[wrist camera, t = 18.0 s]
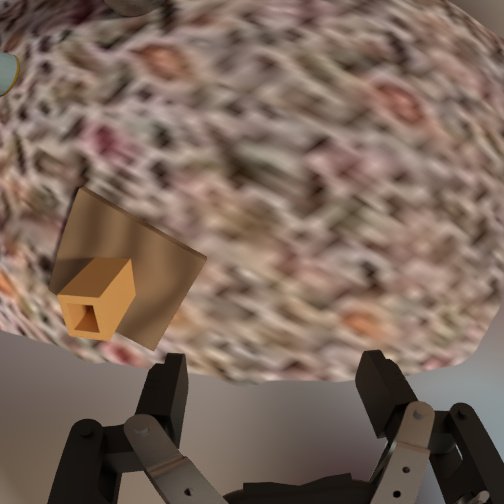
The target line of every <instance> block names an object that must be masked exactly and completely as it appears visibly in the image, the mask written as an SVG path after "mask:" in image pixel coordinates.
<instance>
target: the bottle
mask: <svg viewBox="0 0 504 504" xmlns="http://www.w3.org/2000/svg"><path fill="white" fill-rule="evenodd" d="M18 75H19V60H18V58H17V57H16V56H15V55H12V54H8V53H4V52H0V96H2V95H4V94H6V93H7V92H8V91H9V90H10V89H11V88H12V87H13V85H14V84H15V82H16V80H17V78H18Z"/></svg>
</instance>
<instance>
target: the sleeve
mask: <svg viewBox="0 0 504 504" xmlns="http://www.w3.org/2000/svg"><path fill="white" fill-rule="evenodd" d="M135 296H136V293H135V286H134V279H133V272H132V264H131V258H94V259H93V260H92V261H91V262H90V263H89V264H88V265H87V266H86V267H85V268H84V269H83V270H82V271H81V272H80V273H79V274H78V275H76V276H75V277H74V278H73V279H72V280H71V281H70V282H69V283H68V284H67V285H66V286H65V287H64V288H63V289H62V290H61V291H60V292H59V293H58V298H59V302H60V306H61V309H62V313H63V316H64V320H65V323H66V326H67V330H68V333H69V336H75V337H82V338H89V339H97V340H105V341H110V339H111V337H112V335H113V334H114V332H115V330H116V328H117V327H118V325H119V323H120V321H121V320H122V318H123V316H124V314H125V313H126V311H127V309H128V308H129V306H130V304H131V302H132V301H133V299H134V297H135Z"/></svg>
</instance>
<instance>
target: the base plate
mask: <svg viewBox="0 0 504 504" xmlns="http://www.w3.org/2000/svg"><path fill="white" fill-rule="evenodd" d="M94 258H131V264H132V272H133V279H134V286H135V293H136V296H135V297H134V299H133V301H132V302H131V304H130V306H129V308H128V309H127V311H126V313H125V314H124V316H123V318H122V320H121V321H120V323H119V325H118V327H117V328H116V330H115V331H116V332H118V333H120V334H121V335H123V336H125V337H127V338H129V339H131V340H133V341H134V342H136V343H138V344H140V345H142V346H144V347H146V348H148V349H150V350H152V351H154V350H155V348H156V347H157V345H158V343H159V341H160V339H161V338H162V336H163V334H164V332H165V331H166V329H167V327H168V325H169V324H170V322H171V320H172V318H173V317H174V315H175V313H176V311H177V310H178V308H179V306H180V305H181V303H182V301H183V299H184V298H185V296H186V294H187V293H188V291H189V289H190V288H191V286H192V284H193V282H194V281H195V279H196V277H197V276H198V274H199V272H200V271H201V269H202V267H203V266H204V264H205V262H206V260H207V257H206V256H204V255H203V254H201V253H199V252H197V251H195V250H194V249H192V248H190V247H188V246H186V245H185V244H183V243H181V242H179V241H178V240H176V239H174V238H172V237H170V236H169V235H167V234H165V233H163V232H162V231H160V230H158V229H156V228H155V227H153V226H151V225H149V224H148V223H146V222H144V221H142V220H141V219H139V218H137V217H136V216H134V215H132V214H130V213H129V212H127V211H125V210H123V209H122V208H120V207H118V206H117V205H115V204H113V203H111V202H110V201H108V200H106V199H105V198H103V197H101V196H100V195H98V194H96V193H95V192H93V191H91V190H89V189H88V188H86V187H81V188H79V190H78V193H77V196H76V198H75V201H74V204H73V206H72V209H71V212H70V215H69V218H68V221H67V224H66V227H65V230H64V233H63V236H62V240H61V243H60V246H59V250H58V253H57V257H56V260H55V264H54V268H53V272H52V276H51V280H50V284H49V288H48V290H50V291H51V292H53V293H54V294H55V295H57V296H58V293H59V292H60V291H61V290H62V289H63V288H64V287H65V286H66V285H67V284H68V283H69V282H70V281H71V280H72V279H73V278H74V277H75V276H76V275H78V274H79V273H80V272H81V271H82V270H83V269H84V268H85V267H86V266H87V265H88V264H89V263H90V262H91V261H92V260H93V259H94Z"/></svg>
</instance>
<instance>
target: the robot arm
mask: <svg viewBox="0 0 504 504" xmlns="http://www.w3.org/2000/svg"><path fill="white" fill-rule="evenodd" d="M103 1H104V2H105V3H106V4H107V5H108V6H109V7H110V8H112V9H113V10H114V11H115V12H116V13H118V14H120V15H122V16H128V17H132V16H139V15H143V14H146V13H149V12H151V11H153V10H154V9H156V8H158V7H159V6H160V5H161V4H163V3H164V2H165V1H166V0H103ZM355 382H356V387H357V390H358V392H359V395H360V397H361V399H362V402H363V404H364V406H365V409H366V412H367V414H368V416H369V419H370V421H371V424H372V426H373V429H374V431H375V434H376V436H377V438H383V437H386V438H387V440H388V441H387V443H386V445H385V447H384V449H383V452H382V454H381V456H380V459H379V461H378V463H377V465H376V467H375V470H374V472H373V474H372V476H371V477H370V479H369V481H368V482H366V481H363V480H356V479H352V477H351V473H346V474H341V475H335V476H328V477H324V478H321V479H318V480H316V481H313V482H310V483H307V484H304V485H300V486H296V485H288V484H280V483H273V482H261V483H243V489H241V490H237V491H233V492H231V493H228V494H226V495H224V496H221V495H220V494H219V493H218V492H217V491H216V490H215V488H214V487H213V486H212V485H211V484H210V483H209V482H208V480H206V478H205V477H204V476H203V475H202V474H201V472H200V471H199V470H198V469H197V468H196V466H195V465H194V464H193V463H192V461H191V460H190V459H188V457H186V456H185V457H184V456H183V455H182V454H181V453H180V452H179V450H178V449H179V445H180V438H181V432H182V425H183V419H184V412H185V406H186V400H187V394H188V373H187V365H186V357H185V354H180V353H167V356H166V360H165V363H164V364H160V363H156V364H155V365H154V366H153V367H152V368H151V369H150V370H149V372H148V375H147V378H146V381H145V384H144V388H143V390H142V394H141V396H140V400H139V403H138V406H137V409H136V412H135V415H134V416H132V417H130V418H129V419H128V420H127V421H126V422H125V423H124V424H122V425H117V426H107V427H102V425H101V424H100V423H99V422H97V421H96V420H93V419H82V420H80V421H78V422H76V423H75V424H74V425H73V426H72V428H71V431H70V433H69V436H68V439H67V442H66V445H65V448H64V450H63V453H62V456H61V459H60V463H59V466H58V469H57V472H56V475H55V479H54V482H53V485H52V489H51V492H50V496H49V499H48V503H47V504H117V500H118V495H119V488H120V483H121V477H122V473H125V472H135V471H144V472H145V474H146V475H147V477H148V478H149V480H150V481H151V483H152V485H153V486H154V488H155V489H156V491H157V492H158V493H159V495H160V496H161V498H162V499H163V500H164V502H165V503H166V504H414V502H415V499H416V497H417V494H418V491H419V488H420V485H421V482H422V479H423V476H424V473H425V469H426V466H427V463H428V459H429V460H430V463H431V465H432V468H433V470H434V473H435V476H436V478H437V481H438V484H439V486H440V489H441V492H442V495H443V497H444V500H445V503H446V504H504V463H503V461H502V459H501V457H500V455H499V453H498V451H497V450H496V448H495V446H494V444H493V442H492V440H491V439H490V437H489V435H488V433H487V431H486V430H485V428H484V426H483V424H482V423H481V421H480V419H479V418H478V416H477V414H476V413H475V411H474V409H473V408H472V407H471V406H469V405H468V404H466V403H456V404H454V405H453V406H452V407H451V409H450V410H449V411H434V410H433V408H432V407H431V406H430V405H429V404H427V403H425V402H421V401H418V399H417V397H416V395H415V394H414V392H413V390H412V389H411V387H410V385H409V384H408V382H407V380H406V379H405V377H404V375H403V374H402V372H401V370H400V369H399V367H398V365H397V364H395V363H394V362H393V361H392V360H390V359H386V358H385V357H384V355H383V353H382V352H381V350H369V351H364V352H363V354H362V357H361V360H360V363H359V367H358V370H357V373H356V377H355ZM456 444H457V446H458V448H459V450H460V452H461V454H462V459H461V456H460V454H459V452H458V450H457V448H456Z"/></svg>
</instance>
